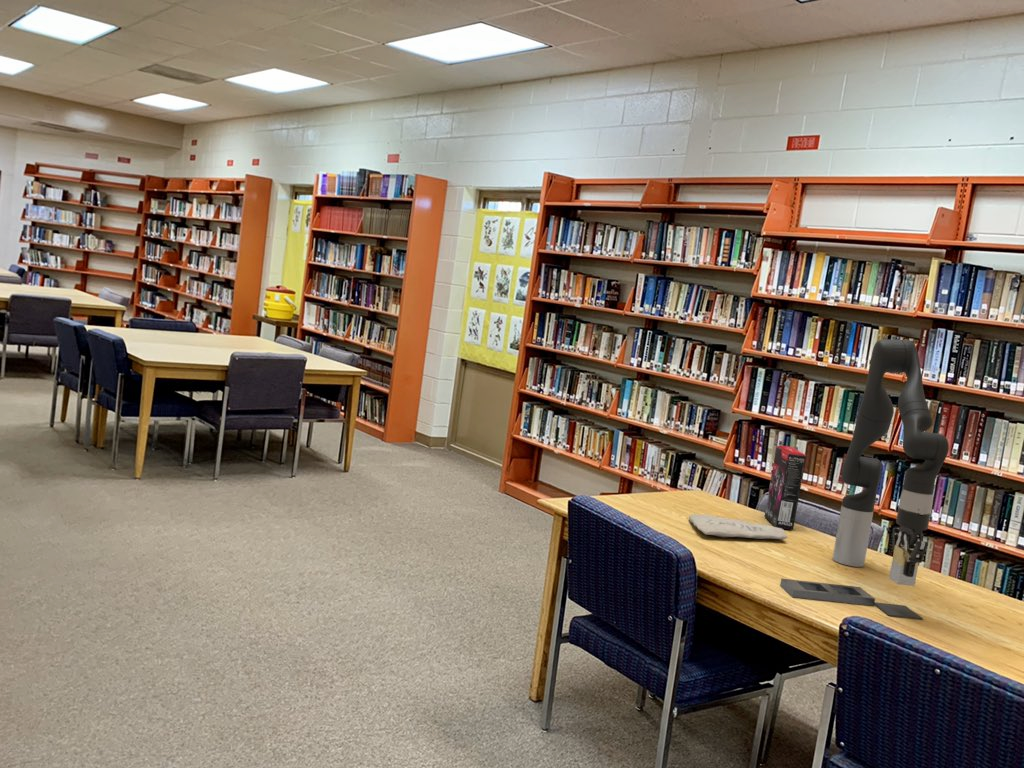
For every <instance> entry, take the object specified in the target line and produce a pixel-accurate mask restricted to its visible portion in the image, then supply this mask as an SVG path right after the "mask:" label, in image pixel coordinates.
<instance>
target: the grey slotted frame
mask: <svg viewBox="0 0 1024 768" xmlns="http://www.w3.org/2000/svg"><path fill="white" fill-rule="evenodd" d="M779 586H780V587H781V588H782V589H783V590H784V591H785V593H787V594H789V596H791V597H792V598H797V599H807V600H815V601H822V602H823V601H825V602H834V603H842V604H843V603H845V604H851V605H852V604H853V605H863V606H871V607H874V606H875V605H874V603H875V602H876V598H875V597H873V595H871V594H870V593H869V592H867V591H866V590H864V589H863V588H862V587H861V586H854V585H845V584H835V583H828V582H818V581H817V582H816V581H811V580H810V581H808V580H799V579H791V578H790V579H788V578H780V584H779Z"/></svg>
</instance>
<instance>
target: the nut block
mask: <svg viewBox="0 0 1024 768" xmlns="http://www.w3.org/2000/svg"><path fill="white" fill-rule="evenodd" d="M909 549H910V548H909ZM910 550H914V549H910ZM911 555H912V553H911ZM906 557H907V553H906V550H905V547H903V546H897V545H895V548H894V551H893V554H892V560H891V565H890V566H891V567H890V570H889V571H890V572H889V578H888V579H889V580H891V581H892V582H894V584H897V585H900V586H901V585H902V586H912V587H915V585H916V580H917V575H918V568H919V564H920V563H916V564H915V570H914V575H913V577H907V576H905V575H904V570H905V565H906V561H907V560H906ZM918 558H919V555H918Z"/></svg>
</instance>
